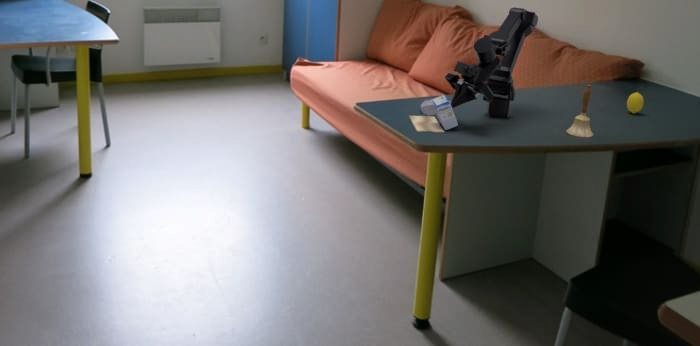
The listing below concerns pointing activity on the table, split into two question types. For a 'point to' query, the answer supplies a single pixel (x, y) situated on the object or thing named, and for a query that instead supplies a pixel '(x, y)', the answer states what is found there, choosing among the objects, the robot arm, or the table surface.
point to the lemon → (635, 102)
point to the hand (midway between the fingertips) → (451, 106)
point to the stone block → (428, 107)
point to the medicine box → (445, 112)
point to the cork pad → (426, 124)
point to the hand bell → (582, 118)
